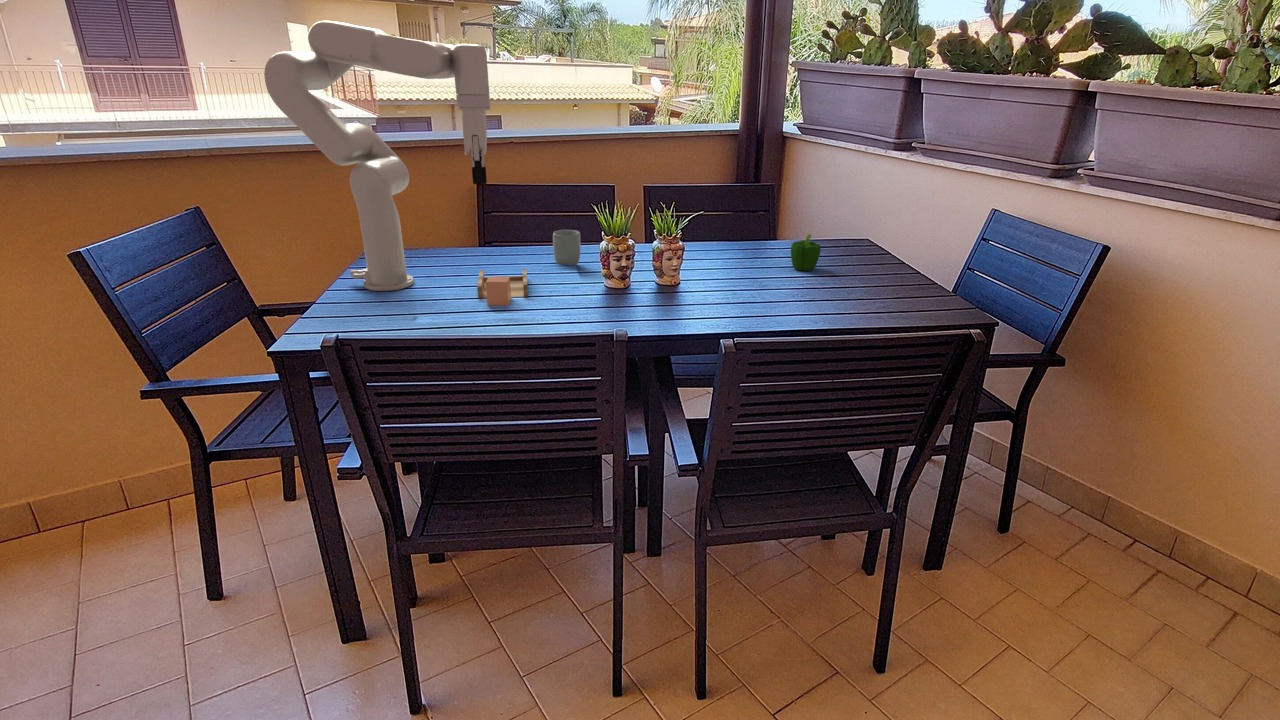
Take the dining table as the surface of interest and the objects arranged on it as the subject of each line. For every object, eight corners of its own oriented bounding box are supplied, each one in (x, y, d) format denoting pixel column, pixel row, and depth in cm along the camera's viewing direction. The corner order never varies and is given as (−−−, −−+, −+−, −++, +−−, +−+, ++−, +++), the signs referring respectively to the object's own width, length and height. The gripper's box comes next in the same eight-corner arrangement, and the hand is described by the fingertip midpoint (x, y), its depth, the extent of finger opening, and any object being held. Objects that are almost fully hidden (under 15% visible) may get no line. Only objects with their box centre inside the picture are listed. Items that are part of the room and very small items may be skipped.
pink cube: (487, 306, 155) (485, 281, 153) (490, 300, 160) (488, 276, 158) (508, 306, 155) (507, 281, 153) (511, 300, 160) (509, 276, 158)
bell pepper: (806, 274, 188) (811, 240, 184) (783, 268, 194) (787, 235, 190) (823, 269, 193) (828, 236, 189) (800, 263, 199) (804, 231, 195)
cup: (576, 271, 188) (575, 236, 184) (550, 269, 189) (549, 234, 185) (583, 263, 195) (583, 230, 191) (558, 262, 196) (557, 228, 192)
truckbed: (481, 285, 173) (479, 269, 172) (527, 284, 175) (526, 268, 174) (478, 304, 160) (477, 286, 158) (528, 302, 162) (527, 285, 160)
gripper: (459, 101, 158) (466, 179, 165) (454, 104, 145) (462, 189, 152) (491, 101, 159) (496, 179, 167) (489, 104, 146) (495, 188, 153)
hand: (480, 183), depth 159 cm, fingers closed
